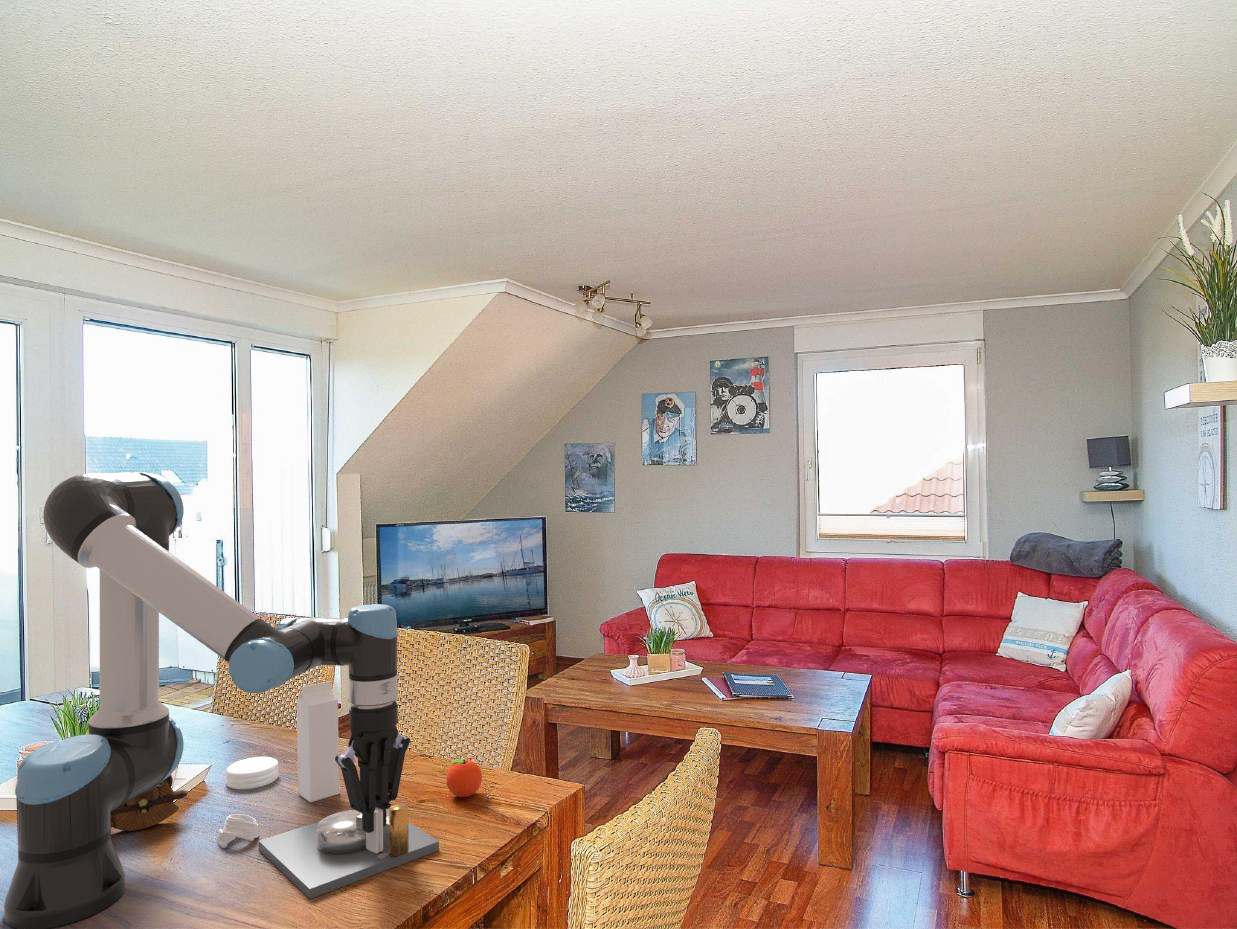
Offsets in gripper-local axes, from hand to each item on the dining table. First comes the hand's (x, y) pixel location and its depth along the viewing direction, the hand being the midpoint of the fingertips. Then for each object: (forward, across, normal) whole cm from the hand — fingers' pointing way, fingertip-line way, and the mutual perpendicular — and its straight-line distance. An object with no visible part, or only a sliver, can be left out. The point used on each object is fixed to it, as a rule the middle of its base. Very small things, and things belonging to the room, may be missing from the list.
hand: (374, 849), depth 131 cm
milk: (+4, +12, +36) cm, 38 cm away
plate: (+4, +2, +10) cm, 11 cm away
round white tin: (+4, +8, +53) cm, 54 cm away
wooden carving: (+4, -16, +48) cm, 51 cm away
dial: (+2, +3, +6) cm, 7 cm away
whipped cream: (+4, -7, +30) cm, 31 cm away
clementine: (+3, +28, +12) cm, 31 cm away
